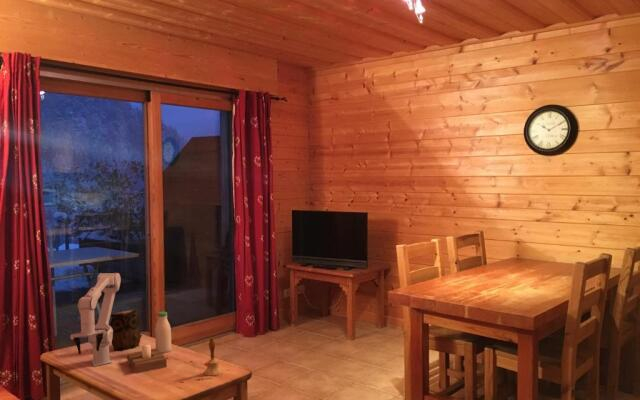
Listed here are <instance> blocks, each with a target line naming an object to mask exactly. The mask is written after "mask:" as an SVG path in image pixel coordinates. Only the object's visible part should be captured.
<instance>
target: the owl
mask: <svg viewBox="0 0 640 400" xmlns="http://www.w3.org/2000/svg"><path fill="white" fill-rule="evenodd" d="M110 318H111V321H109V324H110V325H109V326H110V327H112V329H113V338H112V341H111V346H112V347H113V351H114V352H123V351H129V350H133V349H136V348H137V347H139V346H140V342H141V339H142V333H141V330H140V329H139V327H138V326H139V325H140V317H139V316H138V313H137V309H136V308H135V309H132V310H124V311H120V312H115V313H113V312H111V315H110Z"/></svg>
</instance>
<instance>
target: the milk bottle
mask: <svg viewBox="0 0 640 400" xmlns="http://www.w3.org/2000/svg"><path fill="white" fill-rule="evenodd" d="M157 318H158V319H157V323H156V325H155V330H154V331H155V335H154V336H155V338H154V339H155V348H157V349H158V350H159V351H160V352H161V353H162V354H166V353H169V352H171V351H172V329H171V325H170V324H171V323H170V322H169V321H168V312H167V311H160V312H158V313H157Z"/></svg>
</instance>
